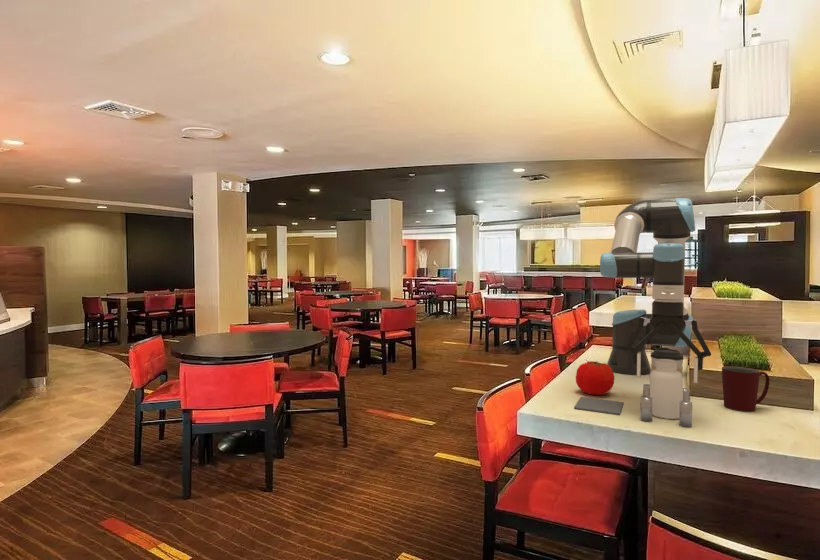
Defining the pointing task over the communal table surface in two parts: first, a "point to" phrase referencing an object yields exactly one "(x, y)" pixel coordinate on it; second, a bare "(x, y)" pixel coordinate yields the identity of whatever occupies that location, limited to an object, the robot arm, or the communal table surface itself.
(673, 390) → the pill bottle
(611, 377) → the tomato
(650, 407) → the spacers
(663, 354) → the coffee cup
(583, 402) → the mat
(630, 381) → the communal table surface
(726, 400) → the mug
